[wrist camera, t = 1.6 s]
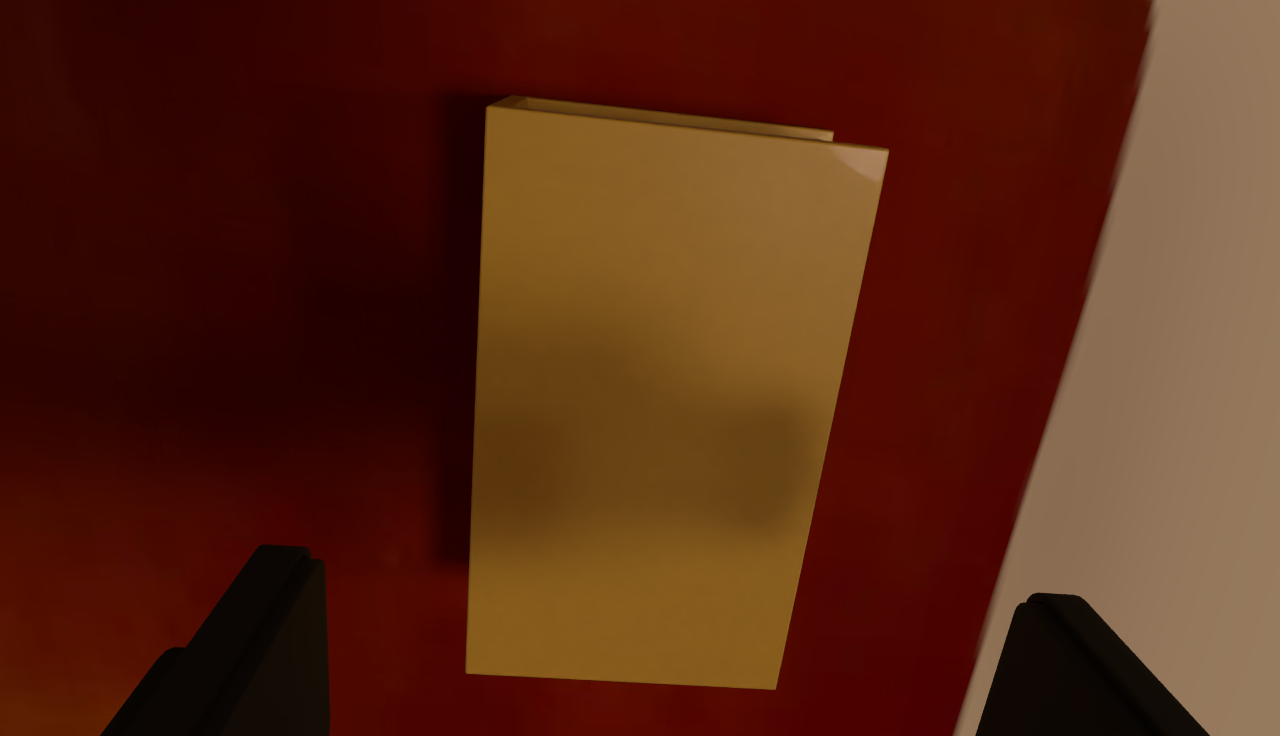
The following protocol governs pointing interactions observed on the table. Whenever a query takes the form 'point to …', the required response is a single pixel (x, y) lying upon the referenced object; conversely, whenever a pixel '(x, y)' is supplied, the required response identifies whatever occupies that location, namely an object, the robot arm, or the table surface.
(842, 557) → the table surface
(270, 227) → the table surface
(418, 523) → the table surface
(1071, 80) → the table surface
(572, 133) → the book
